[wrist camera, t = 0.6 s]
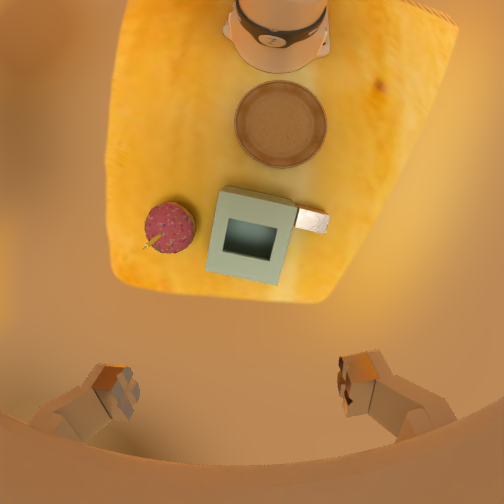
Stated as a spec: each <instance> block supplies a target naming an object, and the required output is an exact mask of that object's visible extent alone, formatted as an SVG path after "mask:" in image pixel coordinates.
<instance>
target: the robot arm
mask: <svg viewBox="0 0 504 504" xmlns="http://www.w3.org/2000/svg"><path fill="white" fill-rule="evenodd" d="M327 2H328V0H236V1H234V2H233V4H232V8H234V9H233V11H232V12H230V13H229V18H228V20H227V21H226V23H225V25H224V27H223V29H222V32H223V35H224V36H225V37H226V38H228V39H229V40H230V41H232V42H233V44H234V45H235V47H236V50H237V52H238V53H239V55H240V56H241V57H242V58H243V59H244V60H245V61H246V62H247V63H248V64H250V65H251V66H253V67H255V68H257V69H259V70H262V71H266V72H271V73H287V72H291V71H295V70H298V69H300V68H302V67H304V66H305V65H306V64H308V63H309V62H310V61H312V60H313V59H316V58H320V57H324V56H327V55H328V54H329V52H330V35H329V20H328V8H327ZM323 43H324V44H325V45H323ZM338 365H339V368H340V371H339V372H338V376H337V377H338V378H337V383H338V391H339V395H340V397H342V398H343V404H342V405H343V408H344V412H345V415H346V417H350V416H357V415H363V414H367V413H368V415H369V416H371V417H372V418H373V419H374V420H376V421H377V422H378V423H379V424H381V425H382V426H383V427H384V428H386V429H387V430H388V431H389V432H391V433H392V434H393V435H394V436H396V437H397V439H396V442H395V443H394V444H390V445H387V446H383V447H379V448H375V449H371V450H367V451H363V452H359V453H354V454H349V455H344V456H338V457H333V458H327V459H320V460H313V461H305V462H297V463H286V464H273V465H251V466H222V465H200V464H186V463H177V462H169V461H161V460H154V459H147V458H142V457H136V456H130V455H126V454H121V453H116V452H111V451H108V450H103V449H99V448H96V447H92V446H88V445H85V444H84V443H85V442H86V441H87V440H89V439H90V438H91V437H92V436H94V435H95V434H96V433H97V432H98V431H99V430H101V429H102V428H103V427H104V426H106V425H107V424H108V423H109V422H110V421H111V420H112V419H113V420H120V421H128V422H129V420H130V418H131V416H132V414H133V411H134V409H133V407H132V406H133V405H135V404H136V403H137V402H138V400H139V396H140V389H139V385H138V383H137V382H136V381H135V380H134V379H133V378H132V376H133V372H132V370H131V368H130V367H128V366H119V365H110V364H108V365H107V364H96V366H95V367H94V368H93V370H92V371H91V372H90V374H89V375H88V377H87V378H86V380H85V381H84V383H83V384H82V385H81V387H80V386H77V387H76V388H74V389H72V390H70V391H68V392H67V393H65V394H63V395H61V396H59V397H57V398H56V399H54V400H52V401H50V402H48V403H46V404H44V405H43V406H41V407H39V409H38V410H37V411H36V413H35V414H34V416H33V417H32V418H31V420H30V421H29V423H28V424H26V423H24V422H22V421H19V420H17V419H15V418H13V417H11V416H9V415H7V414H5V413H2V412H1V411H0V504H504V397H503V398H501V399H499V400H497V401H495V402H494V403H492V404H490V405H488V406H486V407H484V408H482V409H481V410H478V411H476V412H475V413H472V414H470V415H468V416H466V417H464V418H462V419H459V420H457V418H456V416H455V415H454V413H453V411H452V410H451V408H450V406H449V404H448V403H447V401H446V400H445V398H443V397H441V396H439V395H437V394H435V393H432V392H430V391H428V390H426V389H424V388H422V387H420V386H418V385H416V384H414V383H412V382H410V381H408V380H406V379H404V378H402V377H400V376H398V375H395V376H394V375H393V374H392V372H391V370H390V368H389V366H388V364H387V363H386V361H385V359H384V357H383V356H382V354H381V352H380V350H378V349H375V350H370V351H366V352H362V353H356V354H351V355H345V356H340V357H339V364H338Z"/></svg>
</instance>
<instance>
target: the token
mask: <svg viewBox="0 0 504 504" xmlns="http://www.w3.org/2000/svg"><path fill="white" fill-rule="evenodd" d="M296 206H297V208H298V209H297V213H296V217H295V221H294V226H295V227H297V228H301V229H305V230H310V231H314V232H318V233H322V234H326V230H327V227H328V223H329V219H330V215H328V214H327V213H326V212H325V211H323V210H319V209H315V208H311V207H307V206H303V205H299V204H296Z"/></svg>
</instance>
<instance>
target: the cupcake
mask: <svg viewBox="0 0 504 504" xmlns="http://www.w3.org/2000/svg"><path fill="white" fill-rule="evenodd" d="M195 232H196V226H195V220H194V217H193V215H192V214H191V213H190V212H189V211H188V210H187V209H186V208H184V207H183V206H181V205H180V204H179V203H177V202H165V203H162V204H159V205H157V206H155V207H154V208H152V209H151V211H150V212H149V215H148V217H147V219H146V221H145V233H146V236H147V237H146V238H147V239H148V240H149V242H148V243H146V244H145V247H144V248H143V250H144V249H145V248H149V247H150V246H151V245H152V247H153V248H155V250H158V252H159V251H160V252H161V253H169V254H170V253H177V252H179V251H182V250H183V249H185V248H187V247H188V245H189V244H190V243H191V242H192V240H193V237H194V235H195Z"/></svg>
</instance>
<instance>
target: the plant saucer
mask: <svg viewBox="0 0 504 504" xmlns="http://www.w3.org/2000/svg"><path fill="white" fill-rule="evenodd" d="M234 126H235V132H236V136H237V139H238V141H239V143H240V145H241V146H242V148H243V149H244V151H245V152H246V153H247V154H248V155H249V156H250V157H252V158H253V159H254V160H256V161H258V162H259V163H261V164H264V165H266V166H269V167H274V168H291V167H295V166H298V165H301V164H303V163H305V162H307V161H308V160H310V159H311V158H312V157H314V156H315V155H316V154H317V152H318V151H319V150H320V148H321V147H322V145H323V143H324V140H325V137H326V133H327V118H326V114H325V111H324V109H323V106H322V105H321V103H320V101H319V100H318V99H317V97H316V96H315V95H314V94H313V93H312V92H311V91H309V90H308V89H307V88H305V87H303V86H301V85H299V84H297V83H294V82H291V81H284V80H274V81H268V82H265V83H262V84H260V85H257V86H256V87H254V88H253V89H251V90H250V91H249V92H248V93H247V94H246V95H245V96H244V97H243V98H242V100H241V101H240V103H239V105H238V107H237V110H236V113H235V119H234Z"/></svg>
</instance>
